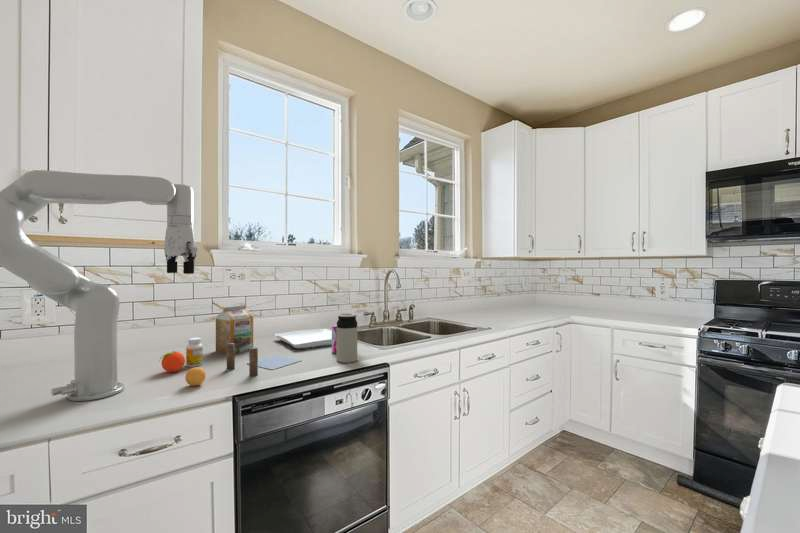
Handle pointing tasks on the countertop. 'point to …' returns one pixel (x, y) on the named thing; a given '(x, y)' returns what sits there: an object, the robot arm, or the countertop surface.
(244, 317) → the milk carton
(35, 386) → the countertop surface
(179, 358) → the tomato
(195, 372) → the ball
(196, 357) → the supplement bottle
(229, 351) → the left post
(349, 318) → the travel mug
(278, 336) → the square plate
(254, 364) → the right post
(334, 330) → the supplement box
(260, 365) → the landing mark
